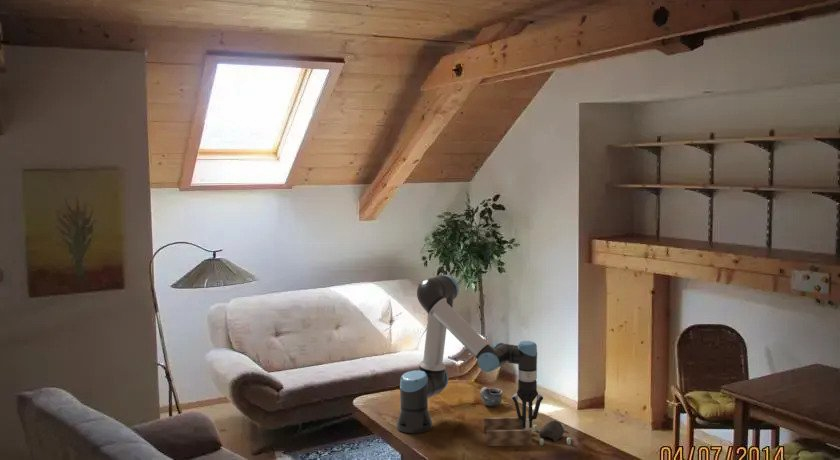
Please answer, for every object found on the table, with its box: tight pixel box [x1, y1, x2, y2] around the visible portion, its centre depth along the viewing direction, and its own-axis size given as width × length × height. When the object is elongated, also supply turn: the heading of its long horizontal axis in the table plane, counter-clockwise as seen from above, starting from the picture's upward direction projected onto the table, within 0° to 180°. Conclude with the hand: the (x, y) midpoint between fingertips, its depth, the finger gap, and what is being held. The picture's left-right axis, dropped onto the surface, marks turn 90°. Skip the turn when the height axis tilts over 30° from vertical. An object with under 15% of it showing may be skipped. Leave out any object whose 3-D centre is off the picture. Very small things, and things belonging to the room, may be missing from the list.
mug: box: [479, 386, 503, 408], centre depth 348 cm, size 10×12×10 cm
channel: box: [482, 416, 533, 447], centre depth 309 cm, size 18×16×6 cm
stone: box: [539, 420, 565, 442], centre depth 309 cm, size 10×8×10 cm
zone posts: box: [533, 423, 572, 446], centre depth 309 cm, size 13×17×2 cm
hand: (526, 435), depth 309 cm, fingers closed
